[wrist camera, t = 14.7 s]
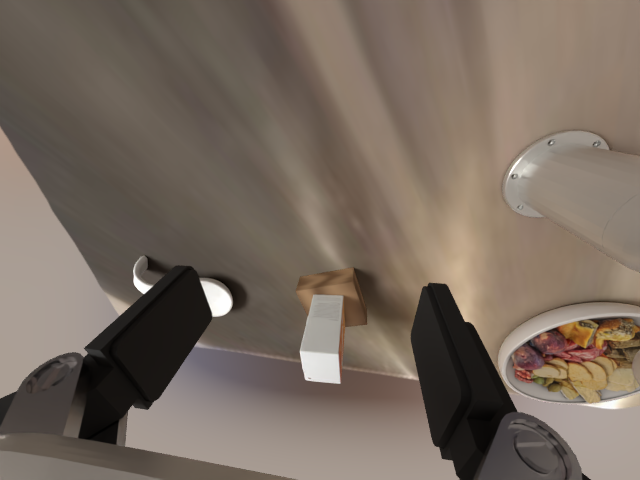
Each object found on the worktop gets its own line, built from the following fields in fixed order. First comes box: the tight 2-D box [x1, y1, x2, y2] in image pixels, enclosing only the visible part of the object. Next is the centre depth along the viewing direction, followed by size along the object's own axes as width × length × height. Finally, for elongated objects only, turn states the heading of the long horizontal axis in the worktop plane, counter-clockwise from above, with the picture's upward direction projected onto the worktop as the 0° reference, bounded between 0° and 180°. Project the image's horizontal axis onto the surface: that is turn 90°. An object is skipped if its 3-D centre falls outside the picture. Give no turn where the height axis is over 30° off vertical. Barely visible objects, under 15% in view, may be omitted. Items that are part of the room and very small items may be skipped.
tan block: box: [296, 268, 367, 327], centre depth 51 cm, size 12×12×5 cm
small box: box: [300, 294, 345, 384], centre depth 43 cm, size 8×6×13 cm
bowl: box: [498, 302, 640, 404], centre depth 48 cm, size 30×30×8 cm
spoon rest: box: [133, 256, 233, 316], centre depth 54 cm, size 24×12×7 cm, turn 69°
